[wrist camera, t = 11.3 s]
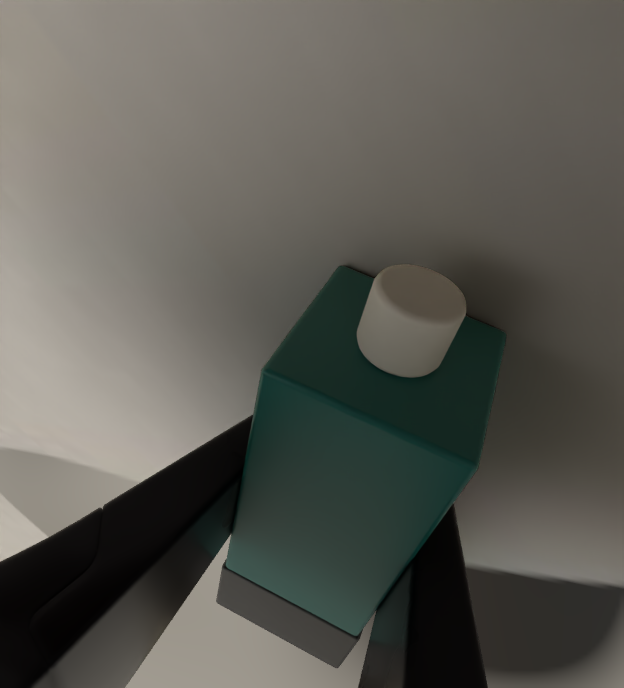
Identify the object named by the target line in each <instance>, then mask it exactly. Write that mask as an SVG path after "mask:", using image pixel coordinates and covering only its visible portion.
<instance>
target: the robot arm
mask: <svg viewBox="0 0 624 688" xmlns="http://www.w3.org/2000/svg"><path fill="white" fill-rule="evenodd" d="M252 419H253V415H251V416H250V417H248V418H246V419H245V420H243V421H241V422H240V423H238V424H236V425H235V426H233V427H231V428H230V429H228V430H227V431H225V432H223V433H222V434H220V435H218V436H217V437H215V438H213V439H212V440H210V441H208V442H207V443H205V444H204V445H202V446H200V447H199V448H197V449H195V450H194V451H192V452H190V453H189V454H187V455H185V456H184V457H182V458H181V459H179V460H177V461H176V462H174V463H172V464H171V465H169V466H167V467H166V468H164V469H162V470H161V471H159V472H157V473H156V474H154V475H153V476H151V477H149V478H148V479H146V480H144V481H143V482H141V483H139V484H138V485H136V486H134V487H133V488H131V489H130V490H128V491H126V492H125V493H123V494H121V495H120V496H118V497H117V498H115V499H113V500H112V501H110V502H108V503H107V504H105V505H104V506H103V509H102V508H98V509H96V510H95V511H93V512H91V513H90V514H88V515H87V516H85V517H83V518H82V519H80V520H78V521H77V522H75V523H73V524H71V525H70V526H68V527H66V528H64V529H63V530H61V531H59V532H57V533H56V534H54V535H52V536H50V537H49V538H47V539H45V540H43V541H41V542H39V543H37V544H35V545H33V546H31V547H29V548H27V549H25V550H23V551H21V552H19V553H17V554H15V555H13V556H11V557H9V558H7V559H5V560H3V561H1V562H0V688H125V687H126V685H127V684H128V682H129V681H130V680H131V678H132V677H133V675H134V674H135V672H136V671H137V669H138V668H139V667H140V665H141V664H142V662H143V661H144V659H145V658H146V656H147V655H148V654H149V652H150V651H151V649H152V648H153V646H154V645H155V643H156V642H157V640H158V639H159V638H160V636H161V635H162V633H163V632H164V630H165V629H166V627H167V626H168V624H169V623H170V621H171V620H172V619H173V617H174V616H175V614H176V613H177V611H178V610H179V608H180V607H181V606H182V604H183V603H184V601H185V600H186V598H187V597H188V595H189V594H190V592H191V591H192V590H193V588H194V587H195V585H196V584H197V582H198V581H199V579H200V578H201V576H202V575H203V574H204V572H205V570H206V569H207V568H208V566H209V565H210V563H211V562H212V560H213V559H214V558H215V556H216V554H217V553H218V552H219V550H220V549H221V547H222V546H223V545H224V543H225V542H226V540H227V539H228V537H229V536H230V534H231V533H232V528H233V523H234V518H235V512H236V507H237V501H238V496H239V490H240V485H241V480H242V474H243V468H244V463H245V457H246V452H247V446H248V441H249V435H250V430H251V425H252ZM358 688H488V687H487V681H486V676H485V671H484V665H483V660H482V654H481V649H480V643H479V639H478V633H477V628H476V622H475V617H474V611H473V607H472V600H471V595H470V590H469V585H468V579H467V574H466V568H465V563H464V557H463V552H462V547H461V541H460V536H459V531H458V525H457V520H456V514H455V509H454V504H452V506H451V507H450V508H449V510H448V511H447V513H446V514H445V515H444V517H443V518H442V519H441V521H440V522H439V524H438V525H437V526H436V528H435V529H434V531H433V532H432V533H431V535H430V536H429V538H428V539H427V540H426V542H425V543H424V544H423V546H422V547H421V549H420V550H419V551H418V553H417V554H416V556H415V557H414V558H413V559H412V561H411V562H410V563H409V565H408V566H407V568H406V569H405V570H404V572H403V573H402V575H401V576H400V577H399V579H398V580H397V582H396V583H395V584H394V586H393V587H392V588H391V590H390V591H389V593H388V594H387V595H386V597H385V598H384V600H383V601H382V602H381V604H380V605H379V607H378V608H377V611H376V615H375V619H374V623H373V627H372V632H371V636H370V640H369V645H368V649H367V653H366V657H365V661H364V665H363V670H362V674H361V678H360V682H359V686H358Z"/></svg>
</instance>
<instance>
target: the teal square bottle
mask: <svg viewBox="0 0 624 688" xmlns="http://www.w3.org/2000/svg"><path fill="white" fill-rule="evenodd" d="M465 315H466V301H465V298H464V295H463V294H462V292H461V291H460V289H459V288H458V287H457V286H456V285H455V284H454V283H453V282H452V281H450V280H449V279H448V278H446V277H445V276H443V275H441V274H439V273H437V272H435V271H433V270H430V269H428V268H424V267H421V266H416V265H408V264H399V265H393V266H390V267H387V268H385V269H384V270H382V271H381V272H380V273H379V274H378V275H377V276H376V277H375V279H374V278H372V277H370V276H367V275H365V274H362V273H360V272H357V271H355V270H352V269H350V268H347V267H345V266H339V267H338V268H337V269H336V271H335V272H334V273H333V275H332V276H331V277H330V279H329V280H328V281H327V283H326V284H325V285H324V287H323V288H322V289H321V291H320V292H319V293H318V295H317V296H316V297H315V299H314V300H313V301H312V303H311V304H310V305H309V307H308V308H307V309H306V311H305V312H304V313H303V315H302V316H301V317H300V319H299V320H298V321H297V323H296V324H295V325H294V327H293V328H292V329H291V331H290V332H289V334H288V335H287V336H286V338H285V339H284V340H283V342H282V343H281V344H280V346H279V347H278V348H277V350H276V351H275V352H274V354H273V355H272V356H271V358H270V359H269V360H268V362H267V363H266V364H265V366H264V367H263V368H262V370H261V376H260V381H259V387H258V392H257V397H256V403H255V408H254V414H253V419H252V425H251V430H250V435H249V441H248V446H247V452H246V457H245V463H244V468H243V474H242V480H241V485H240V490H239V496H238V501H237V507H236V512H235V518H234V523H233V528H232V533H231V539H230V544H229V550H228V555H227V559H226V560H225V562H224V564H223V566H222V572H221V577H220V583H219V589H218V594H217V600H216V601H217V603H218V604H220V605H222V606H224V607H225V608H227V609H229V610H231V611H233V612H234V613H236V614H238V615H240V616H242V617H244V618H245V619H247V620H249V621H251V622H253V623H255V624H256V625H258V626H260V627H262V628H264V629H265V630H267V631H269V632H271V633H273V634H275V635H276V636H279V637H280V638H282V639H284V640H286V641H287V642H289V643H291V644H293V645H295V646H296V647H298V648H300V649H302V650H304V651H305V652H307V653H309V654H311V655H313V656H315V657H316V658H318V659H320V660H322V661H324V662H325V663H327V664H329V665H331V666H333V667H335V668H338V667H339V666H340V665H341V664H342V662H343V661H344V660H345V658H346V657H347V655H348V654H349V652H350V651H351V650H352V648H353V647H354V646H355V645H356V643H357V642H358V640H359V639H360V636H361V633H362V630H363V628H364V626H365V625H366V624H367V622H368V621H369V620H370V618H371V617H372V615H373V614H374V613H375V611H376V610H377V608H378V607H379V605H380V604H381V602H382V601H383V600H384V598H385V597H386V595H387V594H388V593H389V591H390V590H391V588H392V587H393V586H394V584H395V583H396V582H397V580H398V579H399V577H400V576H401V575H402V573H403V572H404V570H405V569H406V568H407V566H408V565H409V563H410V562H411V561H412V559H413V558H414V557H415V556H416V554H417V553H418V551H419V550H420V549H421V547H422V546H423V544H424V543H425V542H426V540H427V539H428V538H429V536H430V535H431V533H432V532H433V531H434V529H435V528H436V526H437V525H438V524H439V522H440V521H441V519H442V518H443V517H444V515H445V514H446V513H447V511H448V510H449V508H450V507H451V506H452V504H453V503H454V501H455V500H456V499H457V497H458V496H459V494H460V493H461V492H462V490H463V489H464V487H465V486H466V485H467V483H468V482H469V481H470V479H471V478H472V476H473V475H474V474H475V472H476V471H477V469H478V467H479V462H480V458H481V453H482V449H483V444H484V439H485V435H486V430H487V425H488V421H489V416H490V411H491V407H492V402H493V397H494V393H495V388H496V383H497V379H498V374H499V369H500V365H501V360H502V356H503V351H504V346H505V342H506V333H505V332H504V331H502V330H500V329H497V328H495V327H492V326H490V325H487V324H485V323H482V322H480V321H477V320H475V319H473V318H470V317H468V316H465Z"/></svg>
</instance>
